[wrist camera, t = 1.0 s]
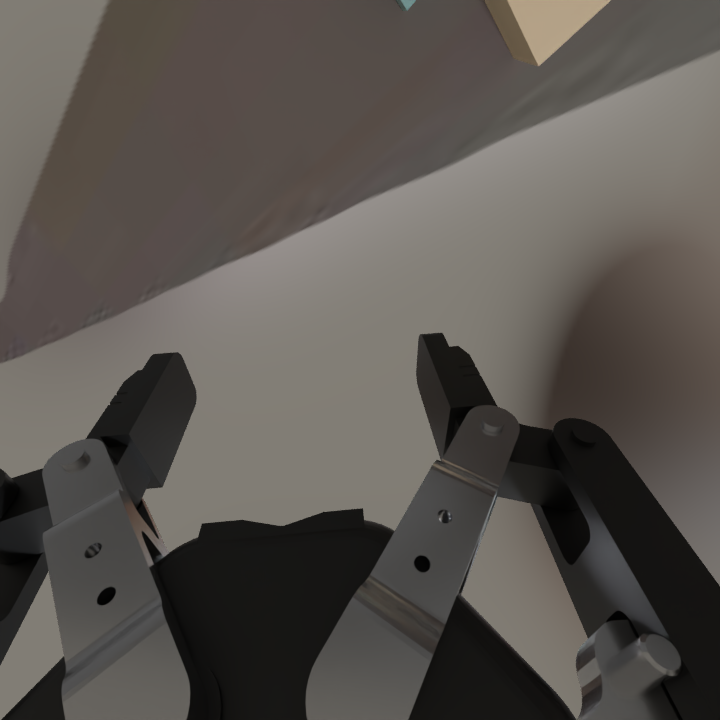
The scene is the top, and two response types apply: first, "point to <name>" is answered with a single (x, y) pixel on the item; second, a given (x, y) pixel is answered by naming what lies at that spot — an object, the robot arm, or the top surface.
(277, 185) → the top surface
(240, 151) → the top surface
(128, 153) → the top surface
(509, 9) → the light box
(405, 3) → the tote
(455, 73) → the top surface
